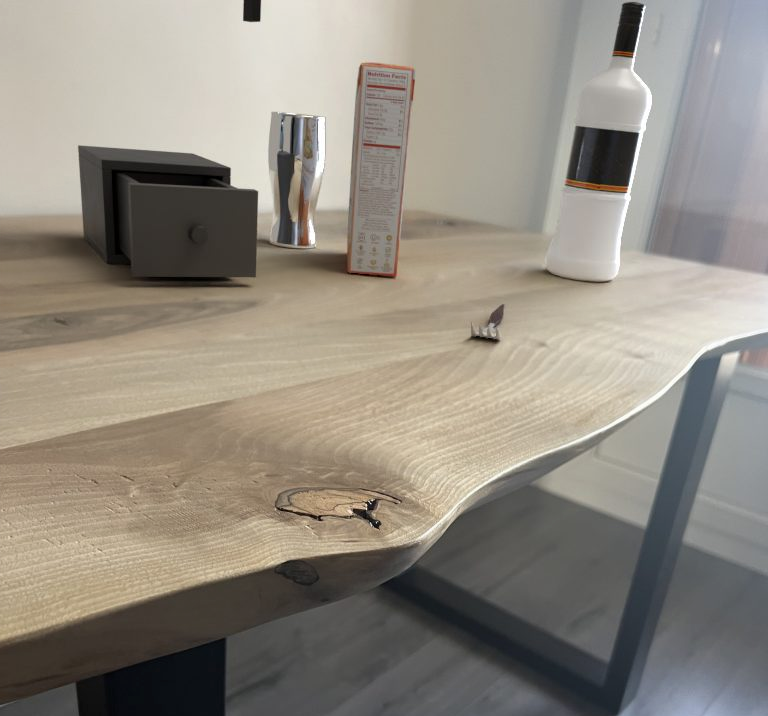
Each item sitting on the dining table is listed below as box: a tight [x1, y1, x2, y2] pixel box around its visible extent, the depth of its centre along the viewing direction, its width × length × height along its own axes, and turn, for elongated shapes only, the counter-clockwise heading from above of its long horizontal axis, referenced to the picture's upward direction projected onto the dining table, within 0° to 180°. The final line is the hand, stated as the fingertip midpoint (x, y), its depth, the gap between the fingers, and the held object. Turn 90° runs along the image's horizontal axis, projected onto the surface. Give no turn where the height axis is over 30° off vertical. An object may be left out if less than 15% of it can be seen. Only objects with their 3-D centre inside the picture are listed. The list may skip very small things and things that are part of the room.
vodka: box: [544, 1, 652, 283], centre depth 98 cm, size 9×9×30 cm
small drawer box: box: [77, 144, 232, 265], centre depth 89 cm, size 15×13×10 cm
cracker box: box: [346, 61, 416, 278], centre depth 92 cm, size 14×6×21 cm, turn 2°
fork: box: [470, 303, 506, 340], centre depth 74 cm, size 3×16×2 cm, turn 166°
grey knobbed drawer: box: [112, 170, 259, 278], centre depth 80 cm, size 15×12×8 cm
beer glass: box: [267, 111, 327, 250], centre depth 101 cm, size 7×7×15 cm
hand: (177, 10), depth 72 cm, fingers open, 13 cm apart
